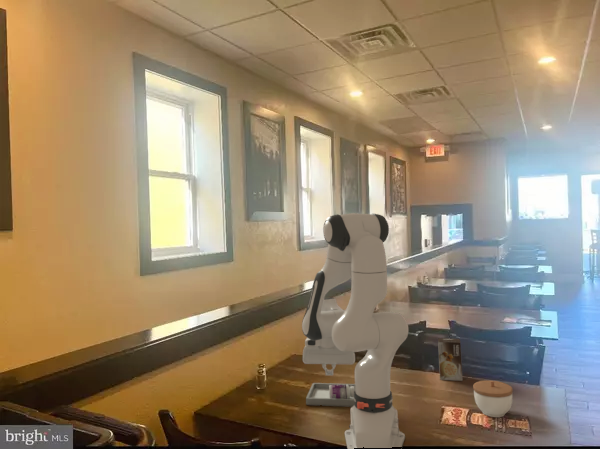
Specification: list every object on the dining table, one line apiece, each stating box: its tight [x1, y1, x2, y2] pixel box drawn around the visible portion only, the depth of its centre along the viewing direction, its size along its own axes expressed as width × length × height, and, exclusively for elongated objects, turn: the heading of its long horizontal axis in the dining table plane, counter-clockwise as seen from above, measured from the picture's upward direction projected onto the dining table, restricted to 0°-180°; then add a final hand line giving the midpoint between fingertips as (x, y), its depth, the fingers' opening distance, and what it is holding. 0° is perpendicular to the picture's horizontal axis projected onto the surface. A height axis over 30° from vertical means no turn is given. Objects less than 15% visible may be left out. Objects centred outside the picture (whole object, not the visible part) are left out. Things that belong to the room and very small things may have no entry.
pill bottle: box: [329, 383, 355, 399], centre depth 176 cm, size 5×5×10 cm
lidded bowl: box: [472, 380, 514, 418], centre depth 160 cm, size 13×13×11 cm
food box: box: [437, 337, 464, 382], centre depth 195 cm, size 9×6×16 cm
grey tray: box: [305, 382, 355, 408], centre depth 179 cm, size 16×21×2 cm
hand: (329, 375), depth 179 cm, fingers closed
